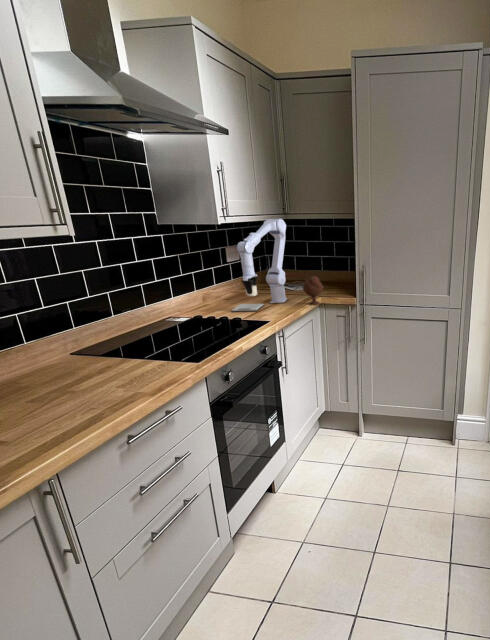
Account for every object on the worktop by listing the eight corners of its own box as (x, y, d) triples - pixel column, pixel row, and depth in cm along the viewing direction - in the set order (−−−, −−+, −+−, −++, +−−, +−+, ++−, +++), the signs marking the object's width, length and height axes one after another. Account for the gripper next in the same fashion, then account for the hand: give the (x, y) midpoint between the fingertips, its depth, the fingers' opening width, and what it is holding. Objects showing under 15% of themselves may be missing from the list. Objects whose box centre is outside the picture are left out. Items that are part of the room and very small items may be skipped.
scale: (240, 306, 238) (240, 303, 237) (264, 305, 237) (263, 303, 237) (231, 312, 225) (231, 309, 224) (256, 311, 225) (256, 309, 224)
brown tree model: (326, 301, 243) (324, 274, 237) (321, 305, 233) (319, 277, 227) (307, 301, 244) (305, 274, 238) (302, 306, 234) (299, 277, 228)
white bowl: (248, 294, 232) (247, 284, 230) (258, 294, 231) (257, 284, 230) (245, 296, 226) (243, 286, 224) (255, 296, 226) (254, 286, 224)
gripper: (251, 267, 216) (255, 295, 222) (259, 264, 230) (262, 289, 235) (237, 268, 217) (241, 295, 222) (246, 264, 230) (250, 290, 235)
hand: (251, 292), depth 228 cm, fingers closed on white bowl, 5 cm apart
